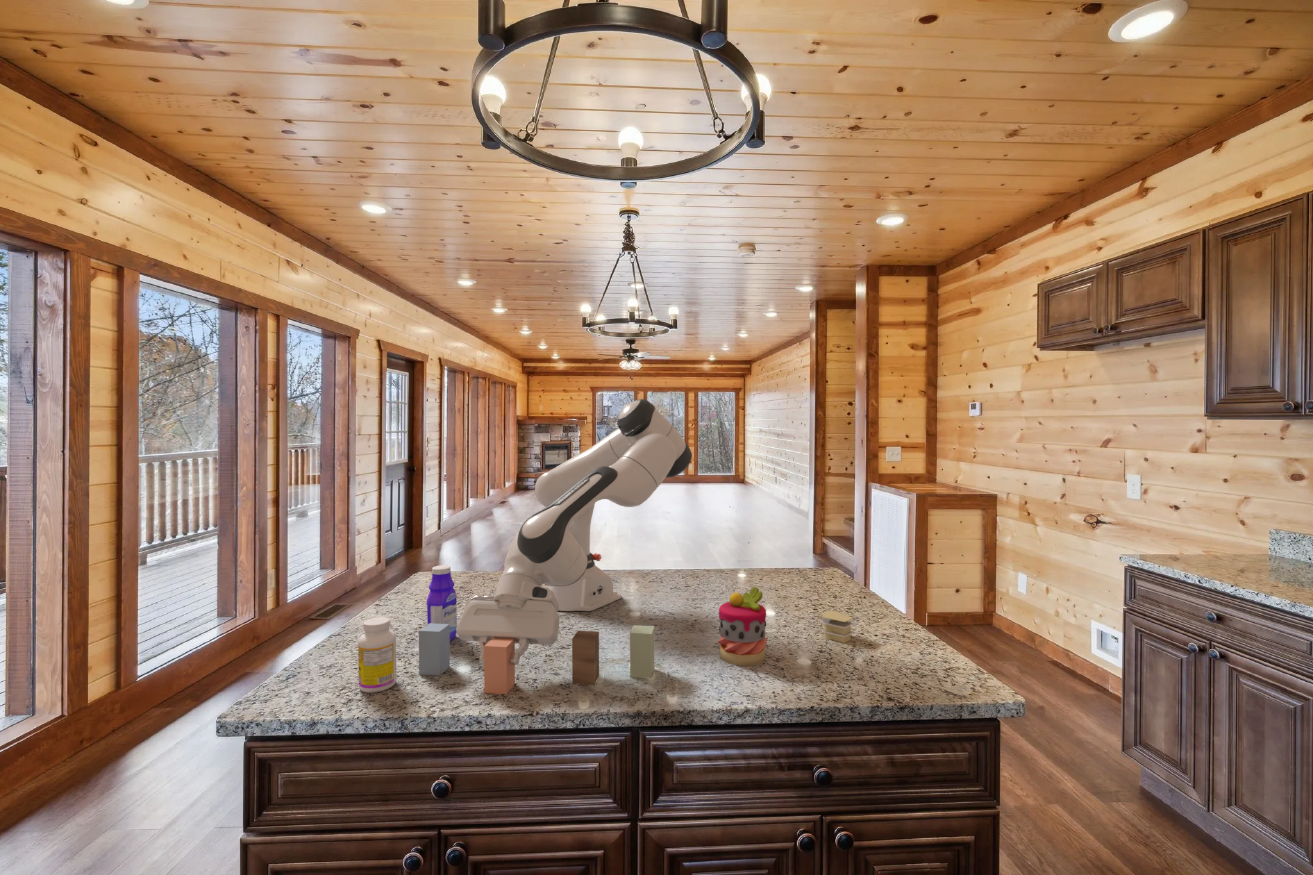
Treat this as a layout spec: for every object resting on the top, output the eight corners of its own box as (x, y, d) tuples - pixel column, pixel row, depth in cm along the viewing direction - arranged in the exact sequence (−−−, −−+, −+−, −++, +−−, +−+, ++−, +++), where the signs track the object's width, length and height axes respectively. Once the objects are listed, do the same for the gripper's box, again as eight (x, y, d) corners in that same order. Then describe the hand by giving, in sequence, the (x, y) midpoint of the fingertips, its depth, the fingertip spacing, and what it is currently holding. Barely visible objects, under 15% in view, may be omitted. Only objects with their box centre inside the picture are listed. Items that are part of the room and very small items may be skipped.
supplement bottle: (367, 679, 116) (366, 615, 116) (401, 678, 116) (400, 614, 116) (352, 694, 109) (351, 627, 109) (388, 693, 110) (388, 626, 110)
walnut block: (578, 674, 118) (577, 630, 118) (599, 675, 118) (599, 631, 118) (572, 683, 114) (572, 638, 114) (594, 685, 113) (594, 639, 113)
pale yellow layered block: (864, 639, 138) (864, 616, 138) (846, 649, 132) (846, 625, 132) (826, 629, 146) (826, 607, 145) (807, 638, 139) (807, 615, 139)
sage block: (633, 667, 121) (633, 625, 121) (654, 668, 121) (654, 626, 121) (630, 676, 117) (630, 632, 117) (651, 678, 117) (651, 633, 116)
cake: (736, 670, 120) (736, 598, 120) (709, 652, 130) (709, 586, 129) (776, 660, 125) (776, 592, 125) (747, 644, 134) (747, 580, 134)
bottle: (444, 646, 133) (444, 571, 132) (422, 644, 134) (421, 569, 134) (461, 635, 140) (460, 563, 140) (440, 633, 141) (439, 562, 141)
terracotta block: (493, 682, 114) (493, 637, 114) (514, 683, 114) (514, 638, 114) (484, 692, 110) (484, 645, 110) (506, 694, 110) (506, 647, 109)
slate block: (429, 665, 123) (429, 623, 122) (449, 666, 122) (449, 624, 122) (419, 674, 118) (418, 630, 118) (439, 675, 118) (439, 631, 118)
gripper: (464, 587, 120) (441, 653, 110) (560, 591, 117) (545, 658, 108) (473, 602, 124) (452, 666, 115) (566, 606, 122) (552, 672, 112)
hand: (498, 662), depth 111 cm, fingers closed on terracotta block, 4 cm apart
